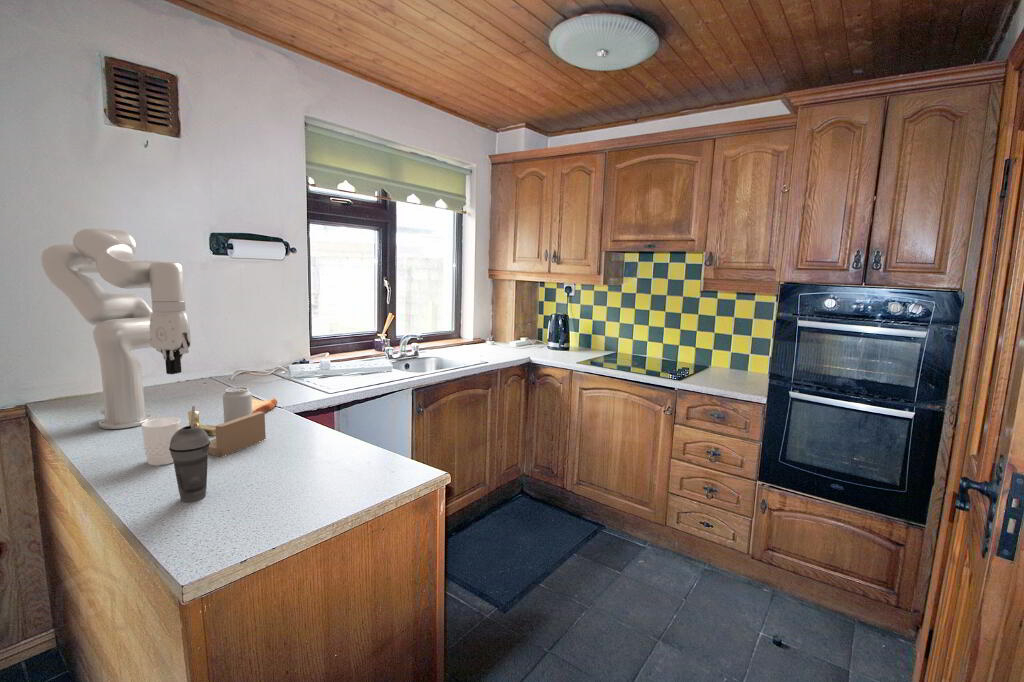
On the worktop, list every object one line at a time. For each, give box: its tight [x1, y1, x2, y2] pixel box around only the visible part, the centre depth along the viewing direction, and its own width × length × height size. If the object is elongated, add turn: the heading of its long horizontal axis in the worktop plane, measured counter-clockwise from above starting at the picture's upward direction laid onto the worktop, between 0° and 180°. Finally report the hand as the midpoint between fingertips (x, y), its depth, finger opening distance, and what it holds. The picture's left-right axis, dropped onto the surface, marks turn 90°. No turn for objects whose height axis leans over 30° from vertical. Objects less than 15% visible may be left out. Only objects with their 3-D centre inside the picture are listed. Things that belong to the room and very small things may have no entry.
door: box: [181, 411, 267, 457], centre depth 137 cm, size 26×14×8 cm, turn 72°
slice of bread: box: [252, 397, 278, 414], centre depth 165 cm, size 18×18×4 cm
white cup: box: [140, 416, 182, 466], centre depth 123 cm, size 8×8×10 cm
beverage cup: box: [169, 405, 210, 503], centre depth 104 cm, size 7×7×20 cm
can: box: [222, 386, 253, 423], centre depth 148 cm, size 8×8×12 cm
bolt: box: [187, 409, 216, 436], centre depth 137 cm, size 9×2×6 cm, turn 72°
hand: (174, 373), depth 138 cm, fingers closed
